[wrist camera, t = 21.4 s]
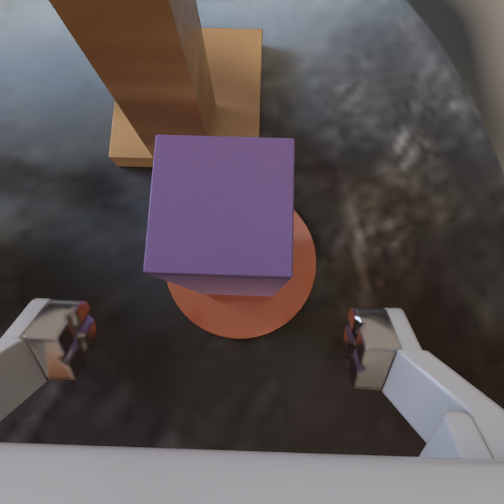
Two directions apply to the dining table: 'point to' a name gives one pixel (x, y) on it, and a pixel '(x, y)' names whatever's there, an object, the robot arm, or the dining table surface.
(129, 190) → the dining table surface
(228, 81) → the cup stand
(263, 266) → the purple block
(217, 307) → the coaster
